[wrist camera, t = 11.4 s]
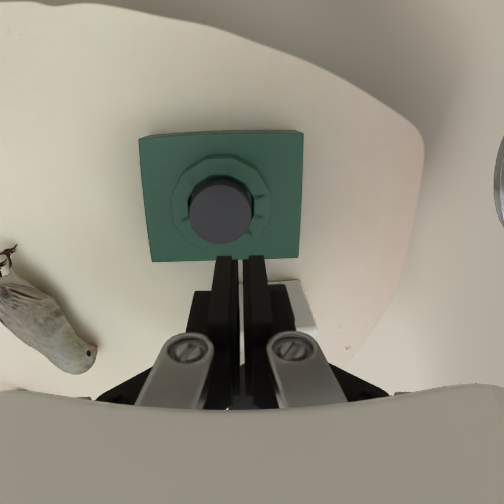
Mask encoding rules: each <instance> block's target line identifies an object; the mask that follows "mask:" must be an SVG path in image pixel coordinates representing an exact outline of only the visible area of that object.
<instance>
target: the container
mask: <svg viewBox="0 0 504 504" xmlns="http://www.w3.org/2000/svg"><path fill="white" fill-rule="evenodd" d="M268 289H269V290H280V289H286V290H287V292H288V296H289V300H290V305H291V309H292V313H293V318H294V322H295V327H296V331H300V332H303V333H306V334H309V335H310V336H311V337H313V338H314V339H315V340H316V341H317V334H318V328H317V325H316V322H315V319H314V317H313V314H312V311H311V308H310V305H309V303H308V300H307V297H306V295H305V292H304V289H303V286H302V284H301V282H300V281H299V280H293V281H279V282H268ZM239 308H240V397H234V406H229V407H228V408H229V410H259V408H258V407H257V406H253V401H252V396H248V397H246V391H245V361H244V326H243V284H239Z"/></svg>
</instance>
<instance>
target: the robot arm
mask: <svg viewBox="0 0 504 504" xmlns="http://www.w3.org/2000/svg"><path fill="white" fill-rule="evenodd" d="M243 326H244V361H245V391H246V397H248V396H252V401H253V406H257V407H258V408H259V410H225V409H227V408H228V407H229V406H234V397H240V308H239V278H238V259H233V260H232V256H217V257H216V263H215V270H214V276H213V283H212V290H211V291H195V292H194V296H193V300H192V305H191V309H190V314H189V318H188V323H187V328H186V332H185V333H181V334H178V335H175V336H173V337H171V338H170V339H169V340H167V341H166V343H165V344H164V345H163V347H162V349H161V351H160V353H159V355H158V357H157V359H156V361H155V363H154V365H153V367H151V368H149V369H147V370H145V371H144V372H142V373H140V374H138V375H136V376H135V377H133V378H131V379H129V380H127V381H125V382H123V383H122V384H120V385H118V386H116V387H114V388H112V389H110V390H109V391H107V392H105V393H103V394H102V395H100V396H99V397H98V398H97V399H96V400H92V399H91V398H90V397H76V398H73V397H67V396H60V395H54V394H48V393H42V392H33V391H24V390H8V391H0V504H504V388H502V387H499V386H494V385H489V384H477V383H475V384H458V385H451V386H443V387H438V388H433V389H428V390H422V391H416V392H395V394H394V396H389V394H388V393H387V392H385V391H384V390H382V389H381V388H379V387H376V386H374V385H372V384H370V383H368V382H366V381H364V380H362V379H360V378H358V377H356V376H354V375H352V374H350V373H347V372H346V371H344V370H342V369H340V368H338V367H336V366H334V365H332V364H330V363H328V362H327V360H326V358H325V356H324V354H323V352H322V350H321V348H320V346H319V345H318V343H317V341H316V340H315V339H314V338H313V337H311V336H310V335H309V334H306V333H303V332H300V331H296V327H295V322H294V318H293V313H292V309H291V305H290V300H289V296H288V292H287V290H286V289H280V290H269V289H268V282H267V275H266V268H265V261H264V255H249V259H243Z"/></svg>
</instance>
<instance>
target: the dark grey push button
mask: <svg viewBox="0 0 504 504" xmlns="http://www.w3.org/2000/svg"><path fill="white" fill-rule="evenodd" d="M189 219H190V223H191V226H192V228H193V229H194V231H195V232H196V233H197V234H198V235H199V236H200V237H201V238H202V239H204V240H206V241H208V242H211V243H216V244H225V243H230V242H233V241H235V240H237V239H238V238H240V237H241V236H242V235H243V234H244V233H245V232H246V230H247V229H248V227H249V224H250V221H251V207H250V202H249V198H248V195H247V193H246V191H245V190H244V189H243V188H242V187H241V186H240V185H239V184H238V183H236V182H234V181H232V180H229V179H224V178H219V179H213V180H210V181H208V182H206V183H204V184H203V185H202V186H201V187H200V188H199V189H198V190H197V192H196V193H195V196H194V198H193V200H192V203H191V205H190V209H189Z"/></svg>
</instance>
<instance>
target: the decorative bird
mask: <svg viewBox="0 0 504 504" xmlns="http://www.w3.org/2000/svg"><path fill="white" fill-rule="evenodd" d="M16 246H17V245H16ZM16 246H15V247H16ZM15 247H14V248H11V249H5V250H4V251H3V252H1V253H0V255H3V254H4V255H6V256H7V258H8V260H9V272H10V273H9V274H8V275H5V276H3V277H2V274H1V271H0V322H1V323H2V324H3V325H4V326H5V327H7V328H8V329H9V330H10V331H11V332H12V333H13V334H15V335H16V336H17V337H18V338H19V339H20V340H21V341H23V342H24V343H26V344H27V345H29V346H31V347H32V348H34V349H36V350H38V351H39V352H40V353H42V354H43V355H44V356H46V357H47V358H48V359H49V360H50V361H51V362H52V363H53V364H54V365H55V366H57V367H58V368H59V369H61V370H63V371H64V372H67V373H70V374H82V373H84V372H86V371H87V370H89V369H90V368H91V367H92V366H93V364H94V362H95V359H96V355H97V347H96V346H94V345H92V344H89V343H85V342H84V341H83V340H81V339H80V338H79V337H77V336H76V335H75V334H74V330H73V328H72V327H71V325H70V323H69V322H68V321H67V319H66V317H65V315H64V313H63V311H62V309H61V307H60V305H59V304H58V302H57V301H56V300H55V299H53V298H52V297H51V296H49V295H47V294H45V293H43V292H42V291H40V290H38V289H37V288H35V287H34V286H32V285H31V284H29V283H28V282H27V281H26V280H24V279H23V278H20V277H18V276H17V275H16V273H15V272H14V270H13V268H12V266H11V265H12V262H11V259H10V255H11V254H9V253H13V252H15V250H14V249H15ZM12 250H14V251H12ZM7 258H6V260H7ZM6 260H5V261H6ZM5 261H4V262H1V263H0V267H3V266H4V265H5V264H6V263H5ZM4 263H5V264H4ZM0 269H1V268H0Z"/></svg>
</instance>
